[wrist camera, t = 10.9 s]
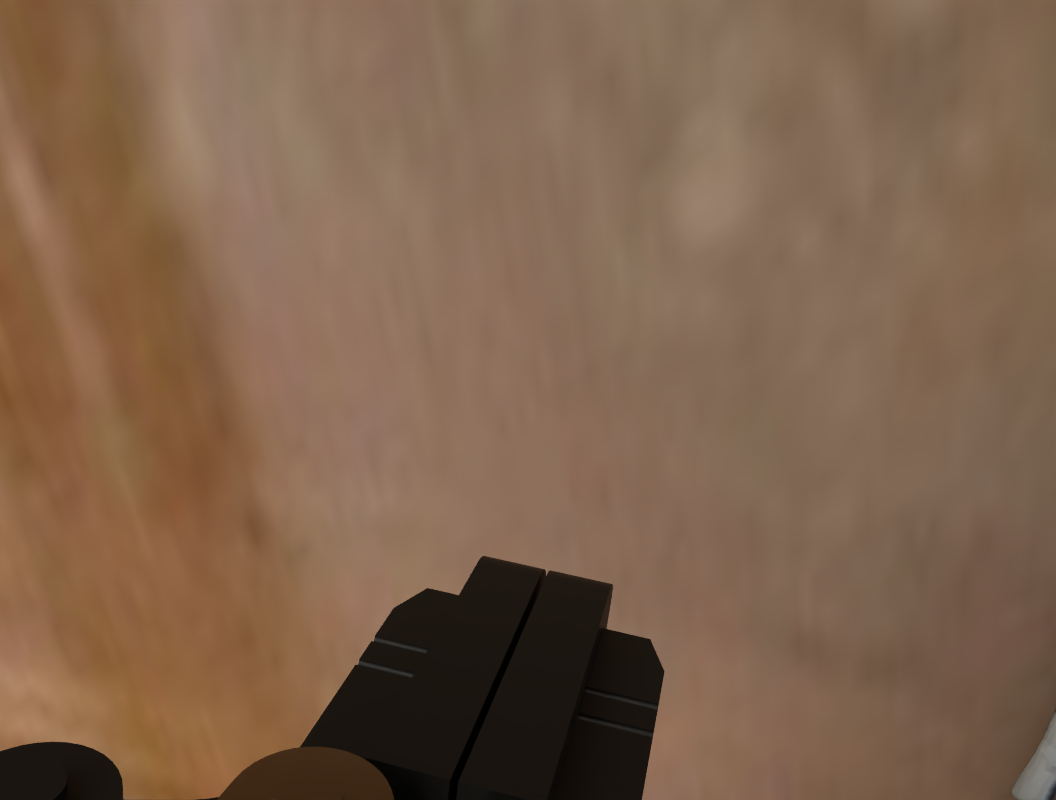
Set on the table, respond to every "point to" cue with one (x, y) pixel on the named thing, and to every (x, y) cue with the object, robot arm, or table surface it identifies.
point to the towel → (1040, 770)
